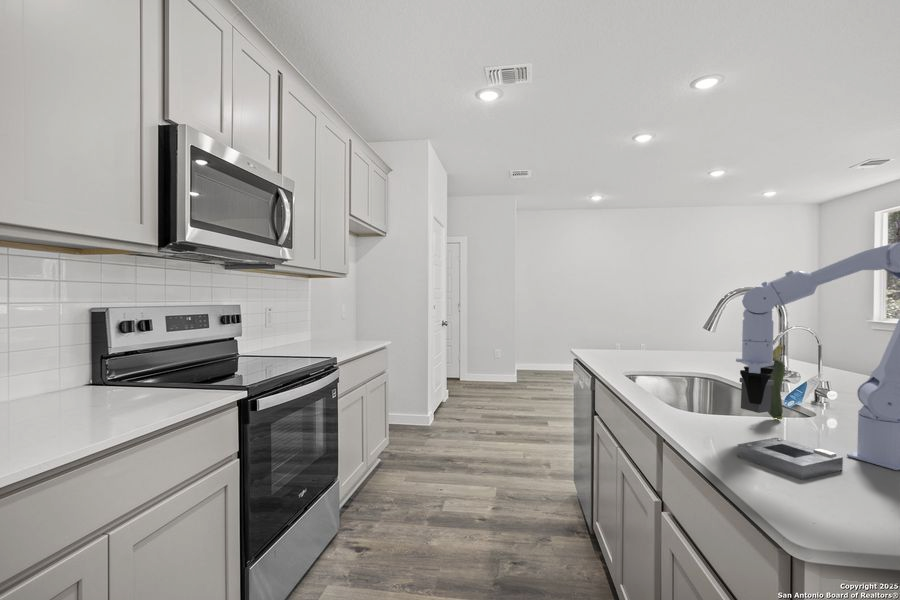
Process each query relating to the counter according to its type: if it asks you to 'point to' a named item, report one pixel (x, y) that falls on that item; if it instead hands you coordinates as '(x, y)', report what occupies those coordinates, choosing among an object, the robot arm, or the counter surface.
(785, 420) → the counter surface
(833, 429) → the counter surface
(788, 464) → the socket plate
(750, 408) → the plug
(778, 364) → the vegetable
